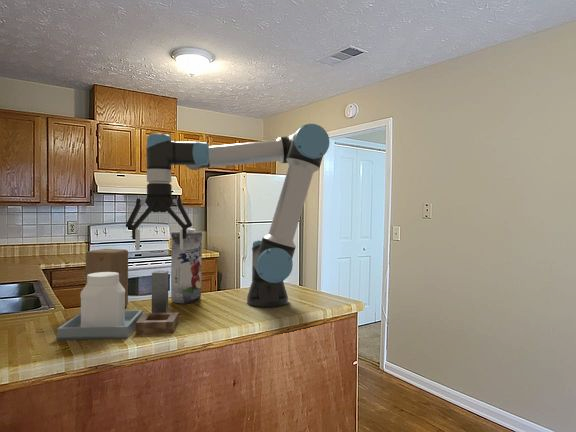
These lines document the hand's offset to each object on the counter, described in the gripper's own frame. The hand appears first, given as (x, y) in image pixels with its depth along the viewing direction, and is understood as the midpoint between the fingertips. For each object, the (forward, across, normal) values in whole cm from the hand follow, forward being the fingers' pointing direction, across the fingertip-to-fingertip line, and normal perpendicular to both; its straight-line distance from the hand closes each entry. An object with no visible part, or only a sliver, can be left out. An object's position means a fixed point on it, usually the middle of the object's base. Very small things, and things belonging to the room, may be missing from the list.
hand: (159, 249), depth 128 cm
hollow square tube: (+21, -2, +13) cm, 25 cm away
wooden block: (+21, +19, -10) cm, 30 cm away
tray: (+21, +13, +13) cm, 28 cm away
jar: (+21, +14, +13) cm, 28 cm away
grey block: (+21, 0, -1) cm, 21 cm away
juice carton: (+22, -6, -20) cm, 30 cm away
